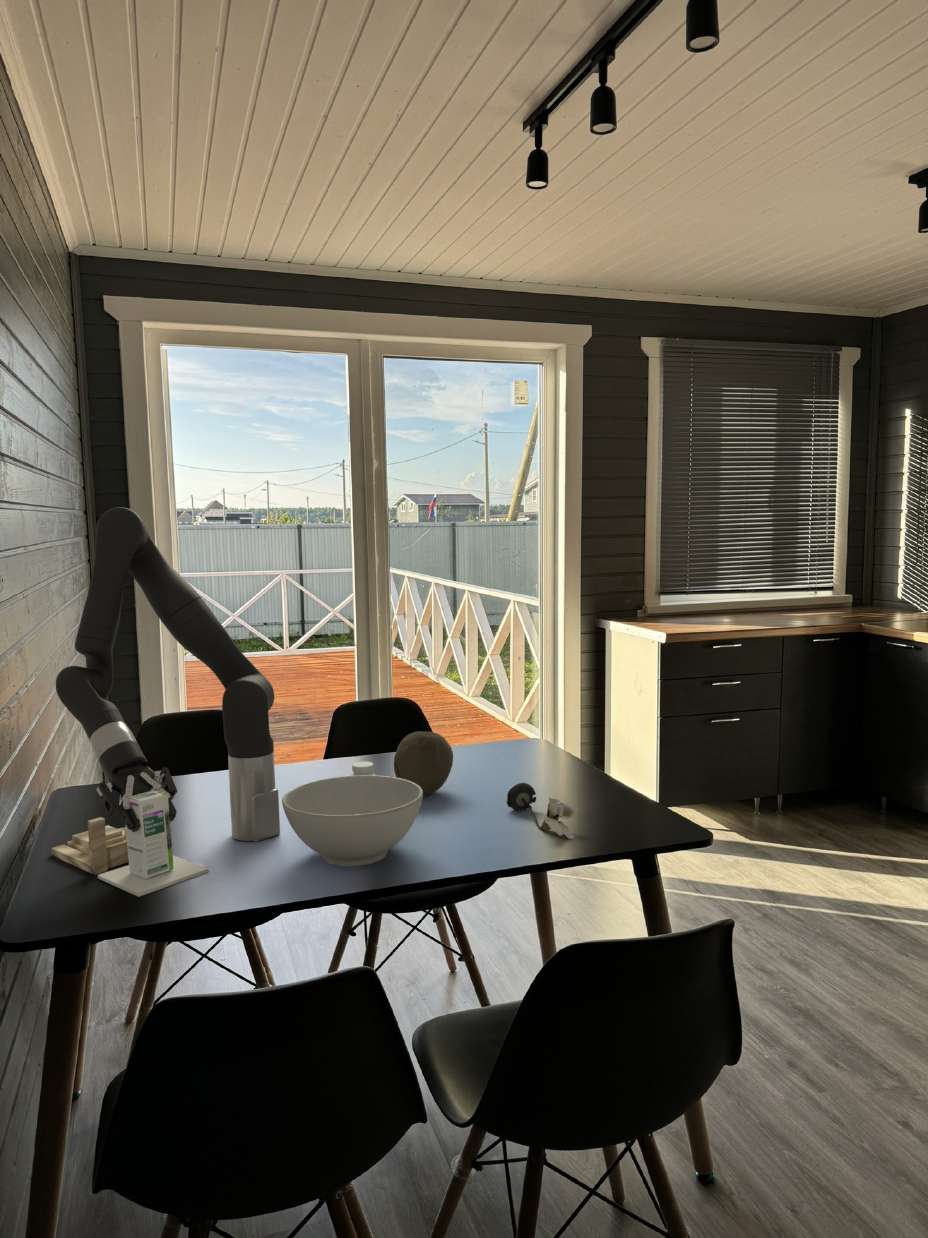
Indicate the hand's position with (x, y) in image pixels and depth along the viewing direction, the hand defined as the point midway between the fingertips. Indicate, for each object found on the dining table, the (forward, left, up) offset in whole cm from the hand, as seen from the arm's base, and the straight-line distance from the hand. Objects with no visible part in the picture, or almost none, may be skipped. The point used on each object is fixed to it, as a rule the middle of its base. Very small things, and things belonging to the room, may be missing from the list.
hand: (155, 824), depth 155 cm
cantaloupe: (-5, -67, -10) cm, 68 cm away
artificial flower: (-41, -65, -10) cm, 78 cm away
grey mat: (+2, 0, -10) cm, 10 cm away
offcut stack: (+24, -1, -10) cm, 26 cm away
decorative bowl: (-21, -29, -10) cm, 38 cm away
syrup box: (+2, 0, -9) cm, 10 cm away
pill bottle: (-5, -47, -10) cm, 48 cm away
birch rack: (+19, -1, -10) cm, 21 cm away
